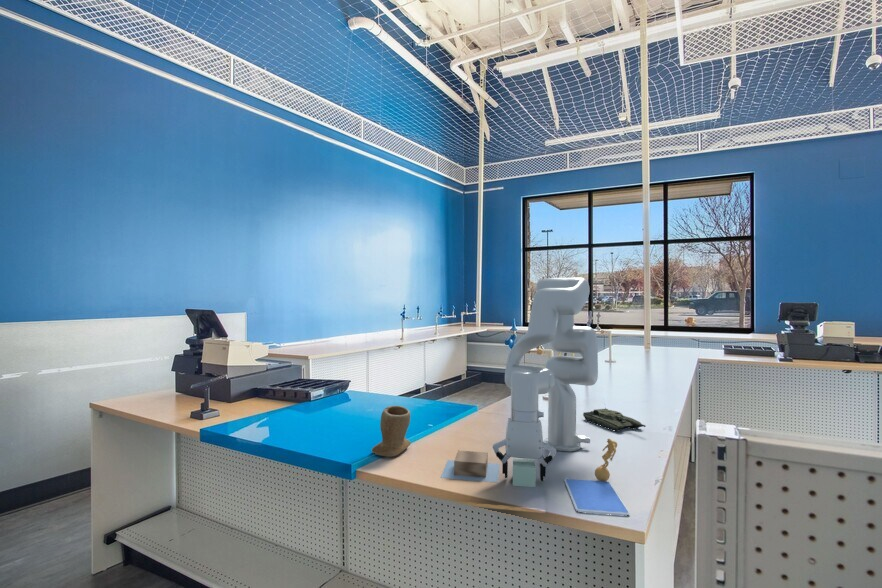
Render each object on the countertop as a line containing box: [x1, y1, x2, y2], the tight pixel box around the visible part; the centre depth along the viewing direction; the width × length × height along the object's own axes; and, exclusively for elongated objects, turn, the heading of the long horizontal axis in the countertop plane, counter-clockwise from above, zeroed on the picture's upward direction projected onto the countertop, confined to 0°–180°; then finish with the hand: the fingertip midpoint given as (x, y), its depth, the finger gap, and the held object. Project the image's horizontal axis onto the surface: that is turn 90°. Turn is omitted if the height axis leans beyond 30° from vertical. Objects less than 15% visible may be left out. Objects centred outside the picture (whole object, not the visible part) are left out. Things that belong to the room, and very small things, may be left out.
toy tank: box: [582, 398, 647, 432], centre depth 177 cm, size 14×28×10 cm, turn 20°
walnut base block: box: [453, 449, 489, 478], centre depth 126 cm, size 9×9×4 cm
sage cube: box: [512, 457, 537, 488], centre depth 119 cm, size 6×6×6 cm
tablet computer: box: [563, 478, 631, 516], centre depth 112 cm, size 19×13×1 cm, turn 173°
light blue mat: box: [440, 459, 500, 484], centre depth 126 cm, size 16×14×1 cm
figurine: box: [594, 438, 618, 482], centre depth 122 cm, size 8×6×12 cm
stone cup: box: [371, 405, 412, 458], centre depth 144 cm, size 15×12×15 cm
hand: (523, 477), depth 119 cm, fingers open, 9 cm apart
